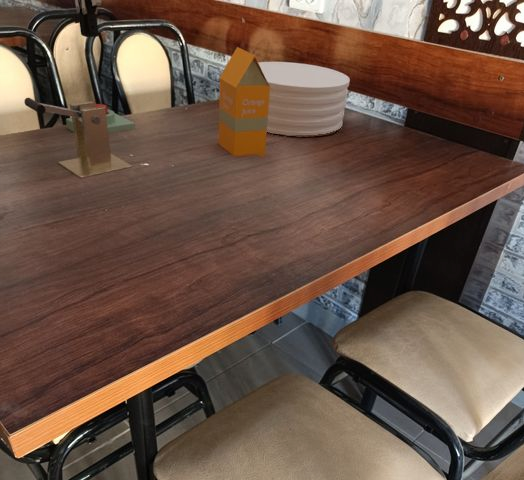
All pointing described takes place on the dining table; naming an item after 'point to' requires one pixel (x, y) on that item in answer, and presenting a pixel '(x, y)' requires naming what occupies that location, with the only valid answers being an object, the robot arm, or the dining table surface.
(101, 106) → the stop button
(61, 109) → the lever
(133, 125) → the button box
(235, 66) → the orange juice
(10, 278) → the dining table surface
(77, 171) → the bracket
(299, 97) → the plate stack
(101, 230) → the dining table surface
